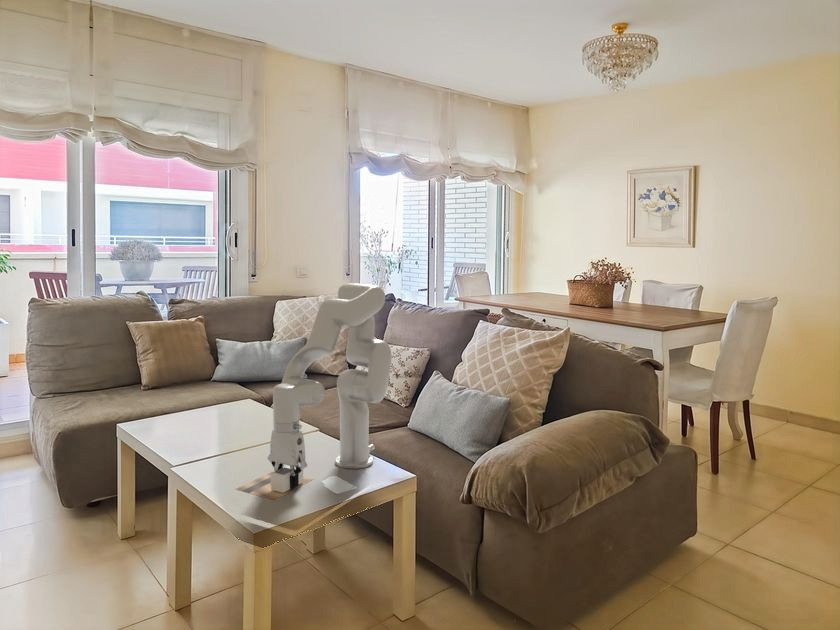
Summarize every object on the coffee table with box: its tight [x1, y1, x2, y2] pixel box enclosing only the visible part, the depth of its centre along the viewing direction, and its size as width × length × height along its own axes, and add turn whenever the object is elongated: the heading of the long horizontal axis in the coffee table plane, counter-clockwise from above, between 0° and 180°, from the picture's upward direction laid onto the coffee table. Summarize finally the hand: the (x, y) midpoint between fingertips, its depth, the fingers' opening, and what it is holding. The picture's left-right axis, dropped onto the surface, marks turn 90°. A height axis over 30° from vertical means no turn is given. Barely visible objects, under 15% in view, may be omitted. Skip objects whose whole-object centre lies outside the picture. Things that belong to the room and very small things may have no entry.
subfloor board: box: [235, 470, 315, 501], centre depth 185 cm, size 18×15×1 cm
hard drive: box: [321, 475, 357, 495], centre depth 186 cm, size 2×8×12 cm
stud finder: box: [270, 464, 304, 493], centre depth 183 cm, size 9×4×5 cm, turn 151°
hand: (287, 484), depth 183 cm, fingers closed on stud finder, 4 cm apart
